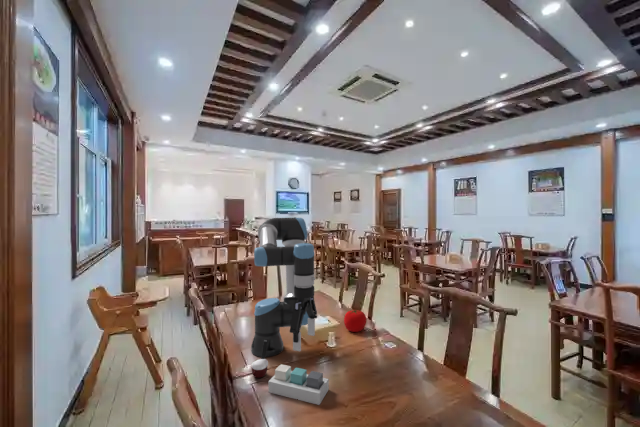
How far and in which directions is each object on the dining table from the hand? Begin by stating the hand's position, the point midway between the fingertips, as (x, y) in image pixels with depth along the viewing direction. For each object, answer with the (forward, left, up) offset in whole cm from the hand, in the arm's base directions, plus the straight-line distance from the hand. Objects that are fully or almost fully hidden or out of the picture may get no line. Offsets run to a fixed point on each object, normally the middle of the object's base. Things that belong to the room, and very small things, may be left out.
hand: (304, 342), depth 113 cm
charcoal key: (+5, -2, -14) cm, 15 cm away
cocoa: (-20, +2, -18) cm, 27 cm away
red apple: (+4, +59, -18) cm, 62 cm away
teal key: (-1, -2, -14) cm, 14 cm away
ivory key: (-8, -2, -14) cm, 16 cm away
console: (-1, -2, -17) cm, 17 cm away
